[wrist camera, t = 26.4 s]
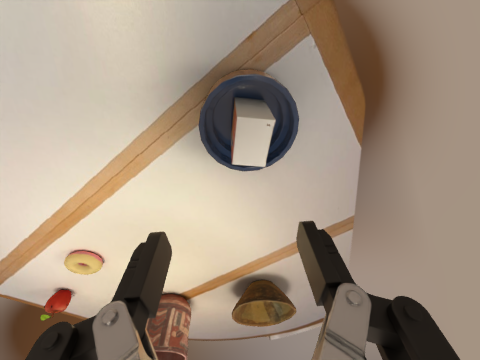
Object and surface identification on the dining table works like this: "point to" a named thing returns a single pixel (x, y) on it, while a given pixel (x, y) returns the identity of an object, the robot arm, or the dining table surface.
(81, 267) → the donut
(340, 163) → the dining table surface
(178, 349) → the pottery
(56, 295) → the apple
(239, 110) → the small box
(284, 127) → the glazed bowl
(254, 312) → the bowl
